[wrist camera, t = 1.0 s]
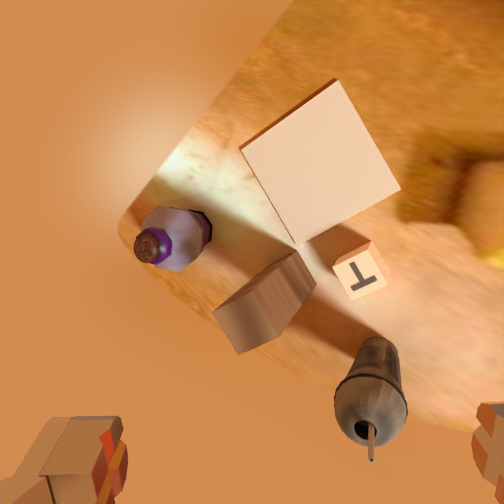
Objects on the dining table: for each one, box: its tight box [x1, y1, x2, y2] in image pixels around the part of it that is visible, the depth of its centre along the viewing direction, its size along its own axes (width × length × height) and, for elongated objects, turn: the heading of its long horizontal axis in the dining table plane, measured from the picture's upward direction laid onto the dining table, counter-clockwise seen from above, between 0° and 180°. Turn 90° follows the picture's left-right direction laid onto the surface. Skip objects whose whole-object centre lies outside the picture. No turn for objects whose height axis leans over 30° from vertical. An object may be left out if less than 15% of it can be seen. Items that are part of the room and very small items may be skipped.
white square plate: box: [241, 80, 401, 246], centre depth 50 cm, size 14×14×1 cm
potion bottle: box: [134, 206, 212, 273], centre depth 53 cm, size 9×9×12 cm
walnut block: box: [213, 251, 317, 355], centre depth 47 cm, size 5×5×16 cm
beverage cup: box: [334, 337, 408, 463], centre depth 44 cm, size 7×7×20 cm
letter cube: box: [332, 241, 391, 301], centre depth 49 cm, size 4×4×5 cm
